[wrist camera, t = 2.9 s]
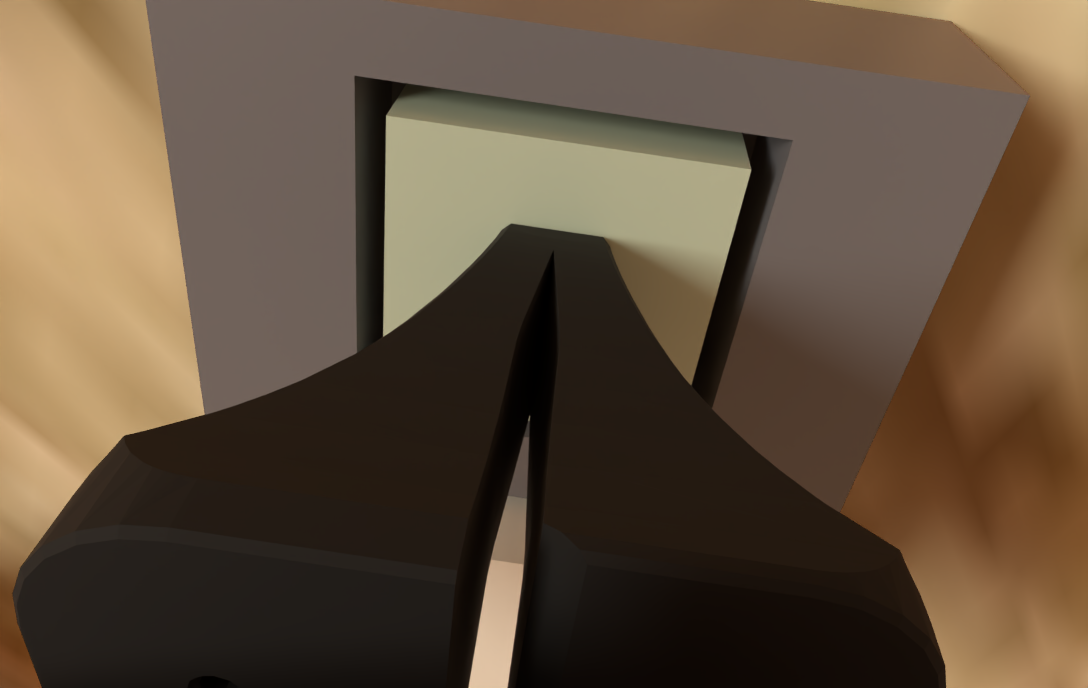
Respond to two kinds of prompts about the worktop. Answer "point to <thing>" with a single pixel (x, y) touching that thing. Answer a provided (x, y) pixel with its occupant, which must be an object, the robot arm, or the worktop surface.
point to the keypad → (612, 87)
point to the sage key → (561, 200)
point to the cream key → (501, 600)
